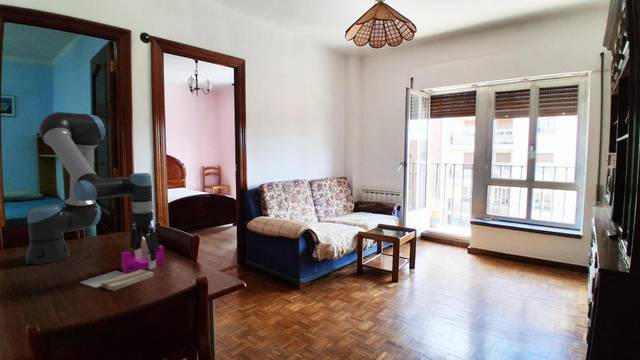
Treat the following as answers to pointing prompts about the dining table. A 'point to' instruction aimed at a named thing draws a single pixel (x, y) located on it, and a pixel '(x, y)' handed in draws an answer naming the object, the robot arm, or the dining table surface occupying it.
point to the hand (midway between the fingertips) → (145, 266)
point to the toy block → (139, 261)
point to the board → (126, 279)
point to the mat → (102, 279)
